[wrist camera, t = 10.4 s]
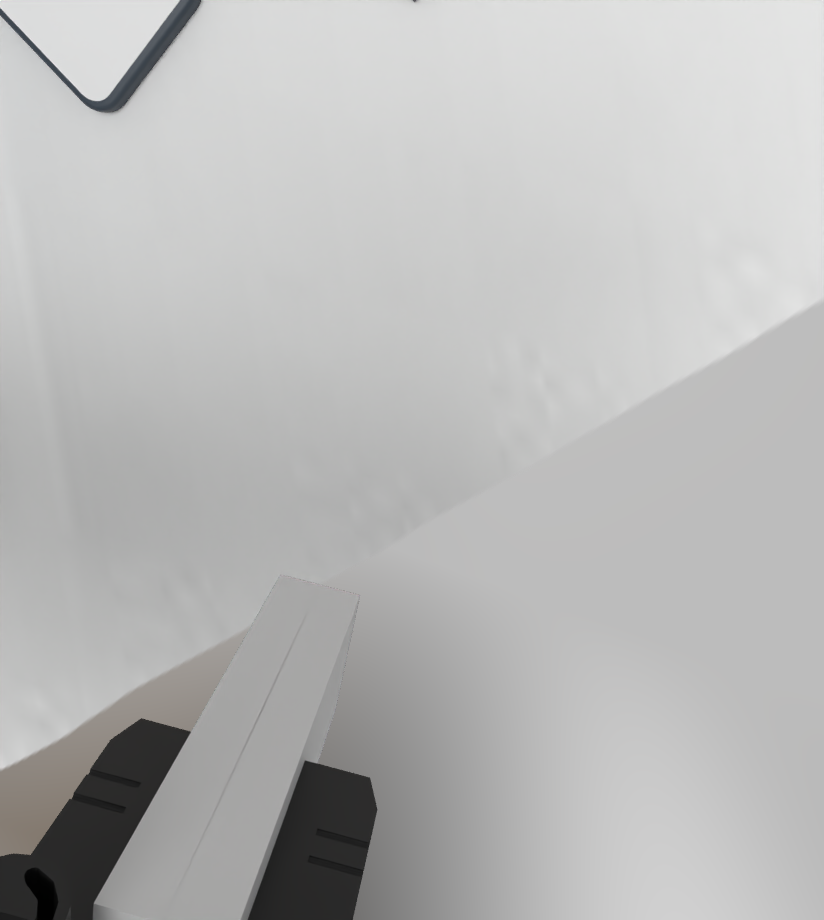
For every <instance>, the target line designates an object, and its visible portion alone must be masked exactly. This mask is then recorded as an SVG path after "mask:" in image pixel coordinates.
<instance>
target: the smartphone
mask: <svg viewBox="0 0 824 920" xmlns="http://www.w3.org/2000/svg"><path fill="white" fill-rule="evenodd" d="M200 2H201V0H0V16H1V17H2V18H3V19H4V20H5V21H6V22H7V23H8V24H9V25H10V26H11V27H12V28H13V29H14V30H15V31H16V32H17V33H18V35H19V36H20V37H21V38H22V39H23V40H24V41H25V42H26V43H27V44H28V45H29V46H30V47H31V48H32V49H33V50H34V51H35V52H36V53H37V55H38V56H39V57H40V58H41V59H42V60H43V61H44V62H45V63H46V64H47V65H48V66H49V67H50V68H51V69H52V70H53V71H54V72H55V73H56V75H57V76H58V77H59V78H60V79H61V80H62V81H63V82H64V83H65V84H66V85H67V86H68V87H69V88H70V89H71V90H72V91H73V92H74V93H75V95H76V96H77V97H78V98H79V99H80V100H81V101H82V102H83V103H84V104H85V105H86V106H88V107H89V108H91V109H93V110H96V111H101V112H114V111H116V110H118V109H120V108H121V107H122V106H123V105H124V104H125V103H126V102H127V100H128V99H129V98H130V96H131V95H132V94H133V93H134V91H135V90H136V89H137V87H138V86H139V85H140V83H141V82H142V81H143V79H144V78H145V77H146V75H147V74H148V73H149V71H150V70H151V69H152V68H153V66H154V65H155V64H156V62H157V61H158V60H159V58H160V57H161V56H162V54H163V53H164V52H165V50H166V49H167V48H168V46H169V45H170V44H171V43H172V41H173V40H174V39H175V37H176V36H177V35H178V33H179V32H180V31H181V29H182V28H183V27H184V25H185V24H186V23H187V21H188V20H189V19H190V17H191V16H192V15H193V14H194V12H195V11H196V10H197V8H198V6H199V4H200Z"/></svg>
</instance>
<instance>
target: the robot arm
mask: <svg viewBox="0 0 824 920" xmlns="http://www.w3.org/2000/svg"><path fill="white" fill-rule="evenodd" d="M359 598H360V595H358V594H354V593H351V592H347V591H342V590H339V589H335V588H331V587H327V586H323V585H319V584H316V583H312V582H308V581H304V580H300V579H296V578H292V577H288V576H285V575H280V576H279V578H278V580H277V582H276V583H275V585H274V587H273V589H272V590H271V592H270V594H269V596H268V597H267V599H266V601H265V603H264V605H263V606H262V608H261V610H260V612H259V613H258V615H257V617H256V619H255V620H254V622H253V624H252V626H251V627H250V629H249V631H248V633H247V635H246V636H245V638H244V640H243V641H242V643H241V645H240V647H239V649H238V650H237V652H236V654H235V656H234V658H233V659H232V661H231V663H230V664H229V666H228V668H227V670H226V672H225V673H224V675H223V677H222V678H221V680H220V682H219V684H218V686H217V687H216V689H215V691H214V693H213V694H212V696H211V698H210V700H209V701H208V703H207V705H206V707H205V708H204V710H203V712H202V714H201V715H200V717H199V719H198V721H197V722H196V724H195V726H194V728H193V730H192V731H191V732H190V731H186V730H182V729H179V728H175V727H171V726H167V725H164V724H160V723H156V722H153V721H149V720H145V719H140V720H138V721H137V722H135V723H134V724H133V725H131V726H130V727H128V728H127V729H126V730H124V731H123V732H121V733H120V734H118V735H117V736H115V737H114V738H113V739H111V740H110V742H109V743H108V744H107V746H106V747H105V749H104V750H103V752H102V753H101V755H100V756H99V757H98V759H97V760H96V762H95V763H94V765H93V766H92V768H91V770H90V773H89V774H88V775H86V776H85V778H84V779H83V781H82V782H81V783H80V785H79V786H78V788H77V789H76V791H75V792H74V795H73V798H72V799H69V801H68V802H67V804H66V805H65V806H64V808H63V809H62V811H61V812H60V814H59V815H58V816H57V818H56V819H55V821H54V822H53V824H52V825H51V827H50V828H49V830H48V831H47V832H46V834H45V835H44V837H43V838H42V840H41V841H40V842H39V844H38V845H37V847H36V848H35V850H34V851H33V853H32V854H31V855H24V854H9V855H5V856H1V857H0V920H353V915H354V910H355V906H356V902H357V897H358V893H359V888H360V884H361V880H362V875H363V871H364V866H365V862H366V857H367V853H368V848H369V844H370V840H371V835H372V830H373V826H374V821H375V817H376V813H377V807H376V802H375V798H374V794H373V789H372V785H371V780H370V778H368V777H365V776H361V775H358V774H354V773H350V772H346V771H343V770H339V769H335V768H331V767H328V766H324V765H321V764H318V760H319V757H320V754H321V751H322V749H323V746H324V742H325V740H326V737H327V734H328V731H329V728H330V725H331V722H332V719H333V716H334V713H335V710H336V706H337V701H338V696H339V692H340V687H341V682H342V678H343V673H344V668H345V664H346V659H347V654H348V649H349V645H350V640H351V635H352V631H353V626H354V621H355V617H356V612H357V607H358V603H359Z"/></svg>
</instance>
